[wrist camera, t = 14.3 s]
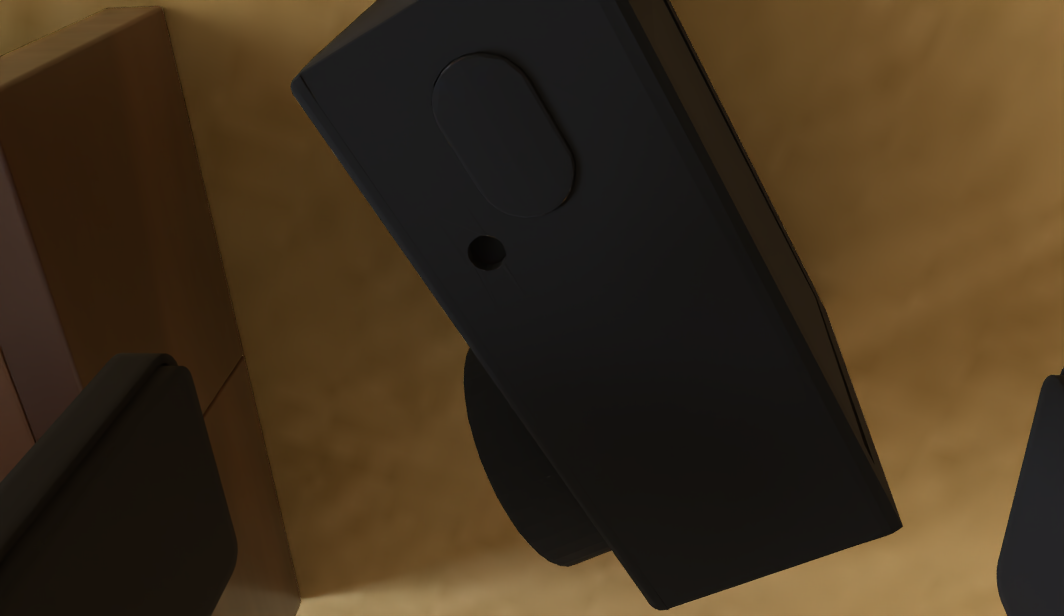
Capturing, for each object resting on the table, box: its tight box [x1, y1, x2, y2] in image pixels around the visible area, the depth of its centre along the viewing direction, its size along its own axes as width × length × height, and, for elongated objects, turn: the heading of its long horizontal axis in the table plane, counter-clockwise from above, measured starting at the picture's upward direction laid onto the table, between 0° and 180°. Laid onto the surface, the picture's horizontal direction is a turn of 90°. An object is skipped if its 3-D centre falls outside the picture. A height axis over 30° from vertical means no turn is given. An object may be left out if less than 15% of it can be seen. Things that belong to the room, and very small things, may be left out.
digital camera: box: [291, 0, 903, 610], centre depth 16 cm, size 10×5×7 cm, turn 31°
